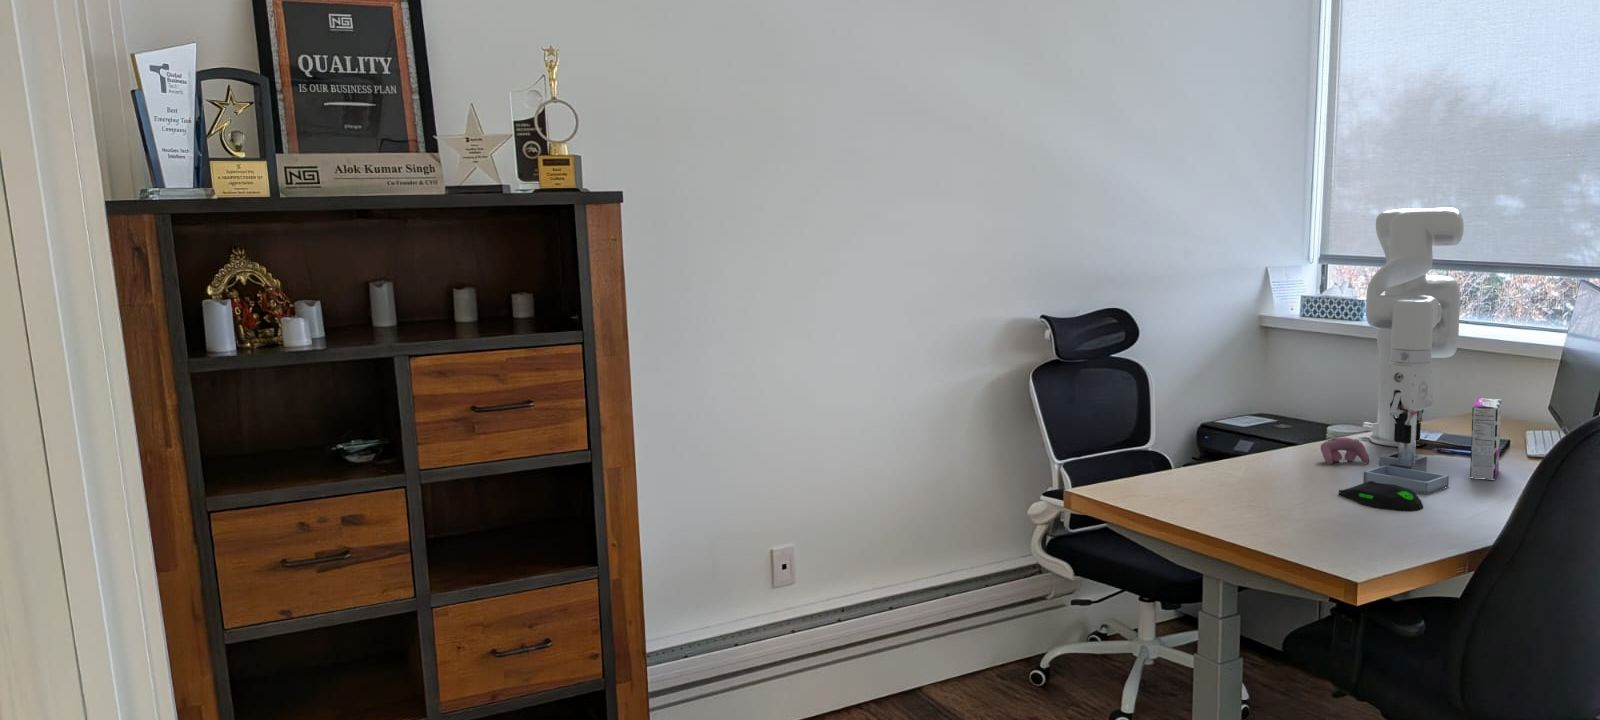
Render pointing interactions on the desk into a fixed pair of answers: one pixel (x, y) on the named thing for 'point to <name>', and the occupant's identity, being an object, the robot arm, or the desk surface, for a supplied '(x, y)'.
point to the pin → (1408, 450)
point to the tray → (1407, 478)
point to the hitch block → (1392, 460)
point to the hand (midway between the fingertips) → (1407, 440)
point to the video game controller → (1350, 445)
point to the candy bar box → (1485, 438)
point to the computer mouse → (1383, 496)
